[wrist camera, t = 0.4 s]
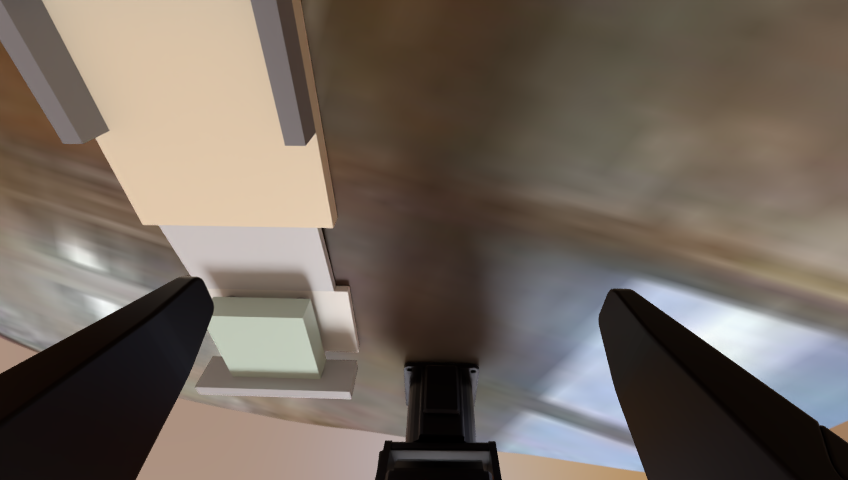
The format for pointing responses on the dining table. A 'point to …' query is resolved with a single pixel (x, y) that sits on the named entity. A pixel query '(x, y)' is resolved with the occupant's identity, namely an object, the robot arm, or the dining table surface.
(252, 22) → the dock
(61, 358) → the robot arm
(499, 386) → the dining table surface
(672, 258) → the dining table surface
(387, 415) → the dining table surface
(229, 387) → the green block on base
